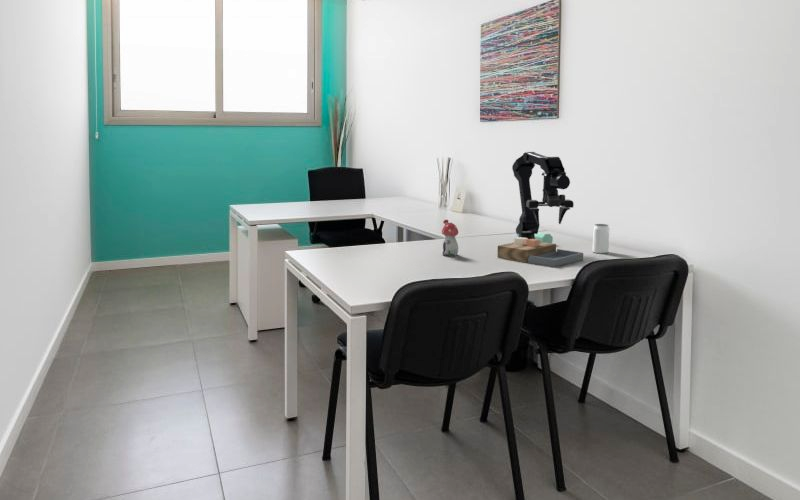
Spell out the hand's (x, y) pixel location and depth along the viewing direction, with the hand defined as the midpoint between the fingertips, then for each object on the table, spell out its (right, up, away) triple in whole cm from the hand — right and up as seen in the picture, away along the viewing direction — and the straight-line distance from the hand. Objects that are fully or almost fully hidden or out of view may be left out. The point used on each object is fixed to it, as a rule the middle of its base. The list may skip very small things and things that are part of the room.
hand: (548, 224), depth 257 cm
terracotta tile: (-8, -9, -5) cm, 13 cm away
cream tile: (-12, -8, 0) cm, 14 cm away
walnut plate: (-10, -14, -2) cm, 17 cm away
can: (+24, -12, +6) cm, 27 cm away
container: (+1, -7, +37) cm, 37 cm away
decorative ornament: (-42, -13, +4) cm, 44 cm away
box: (0, -16, -12) cm, 20 cm away
